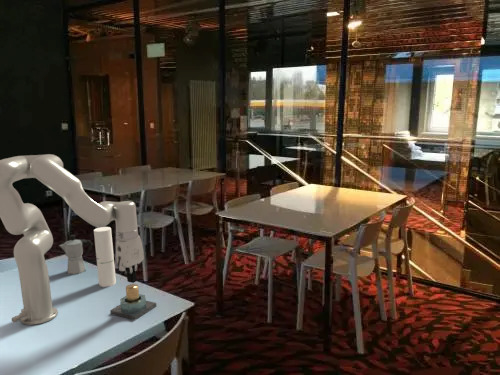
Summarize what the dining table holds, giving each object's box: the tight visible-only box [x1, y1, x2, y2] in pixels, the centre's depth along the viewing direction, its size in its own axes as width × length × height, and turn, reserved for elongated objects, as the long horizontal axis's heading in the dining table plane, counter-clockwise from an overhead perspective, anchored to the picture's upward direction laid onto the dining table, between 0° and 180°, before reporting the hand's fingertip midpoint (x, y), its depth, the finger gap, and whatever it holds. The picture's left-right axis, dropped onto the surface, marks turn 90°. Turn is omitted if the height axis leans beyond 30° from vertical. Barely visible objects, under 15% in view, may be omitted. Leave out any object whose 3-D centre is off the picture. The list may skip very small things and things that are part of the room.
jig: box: [110, 293, 157, 321], centre depth 163 cm, size 12×12×4 cm
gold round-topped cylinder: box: [125, 283, 140, 303], centre depth 162 cm, size 5×5×8 cm
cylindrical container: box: [93, 226, 117, 288], centre depth 187 cm, size 7×7×25 cm
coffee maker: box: [58, 234, 94, 276], centre depth 205 cm, size 15×9×18 cm, turn 114°
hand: (132, 281), depth 161 cm, fingers closed
